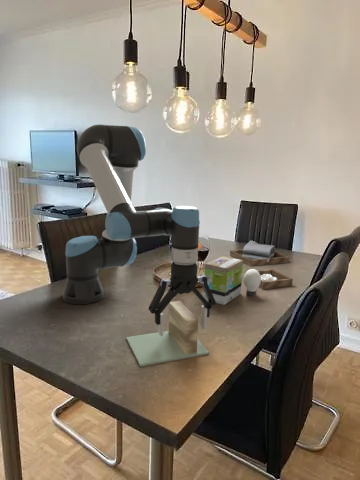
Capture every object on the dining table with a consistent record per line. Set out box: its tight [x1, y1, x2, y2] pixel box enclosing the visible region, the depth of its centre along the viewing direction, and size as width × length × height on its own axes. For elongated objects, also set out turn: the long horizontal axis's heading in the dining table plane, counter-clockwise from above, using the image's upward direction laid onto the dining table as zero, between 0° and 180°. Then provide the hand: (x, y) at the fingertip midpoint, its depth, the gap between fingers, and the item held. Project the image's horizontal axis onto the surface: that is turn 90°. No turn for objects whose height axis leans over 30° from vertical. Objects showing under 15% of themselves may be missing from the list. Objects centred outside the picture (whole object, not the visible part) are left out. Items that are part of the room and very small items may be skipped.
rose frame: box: [244, 268, 293, 290], centre depth 167 cm, size 15×15×3 cm
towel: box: [242, 239, 276, 262], centre depth 204 cm, size 15×18×8 cm
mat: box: [125, 330, 210, 367], centre depth 109 cm, size 20×16×1 cm
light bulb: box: [243, 268, 261, 298], centre depth 150 cm, size 7×7×11 cm
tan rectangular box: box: [168, 300, 199, 354], centre depth 110 cm, size 4×14×10 cm, turn 21°
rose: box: [261, 274, 278, 281], centre depth 165 cm, size 10×4×10 cm
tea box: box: [202, 255, 244, 306], centre depth 147 cm, size 15×10×15 cm
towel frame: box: [229, 249, 290, 267], centre depth 204 cm, size 24×21×3 cm
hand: (182, 330), depth 110 cm, fingers open, 13 cm apart
